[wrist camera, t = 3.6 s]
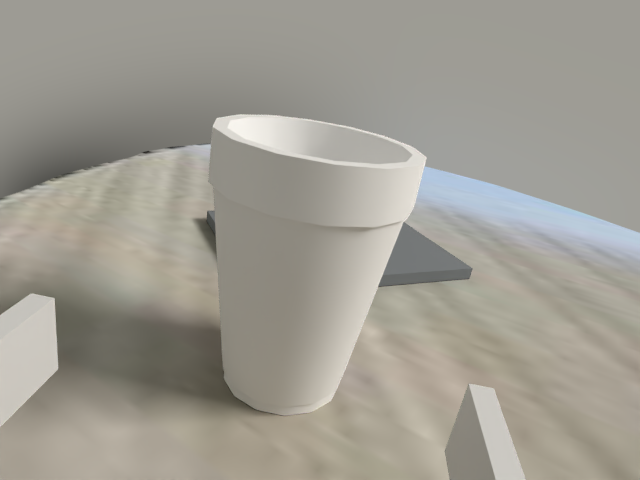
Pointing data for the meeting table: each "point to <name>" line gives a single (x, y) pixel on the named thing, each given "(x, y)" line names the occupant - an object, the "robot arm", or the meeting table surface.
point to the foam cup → (301, 249)
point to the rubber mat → (412, 259)
